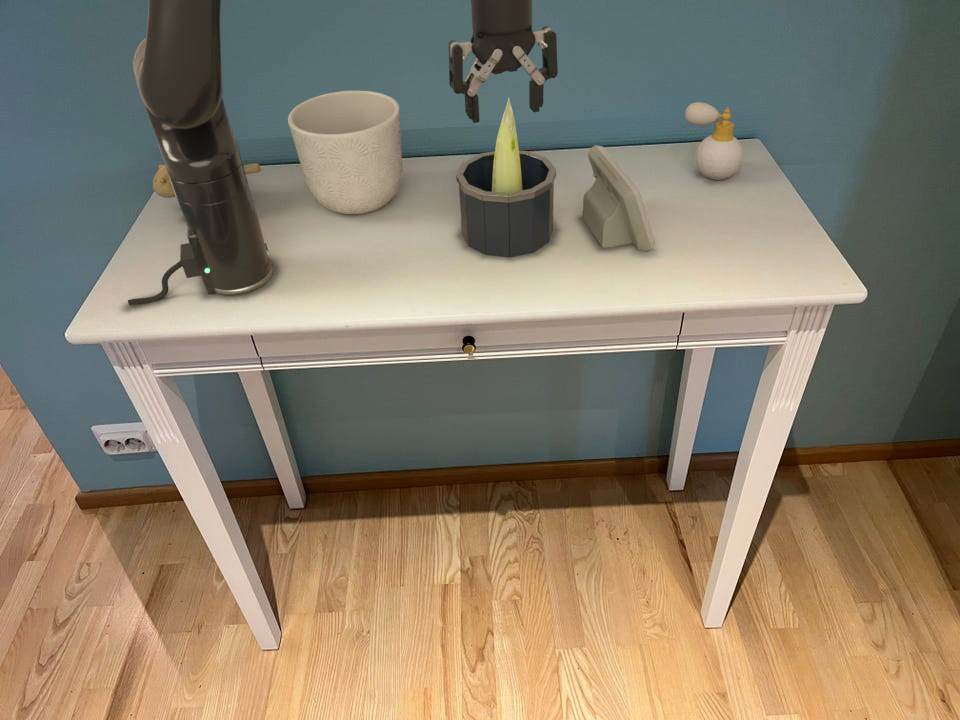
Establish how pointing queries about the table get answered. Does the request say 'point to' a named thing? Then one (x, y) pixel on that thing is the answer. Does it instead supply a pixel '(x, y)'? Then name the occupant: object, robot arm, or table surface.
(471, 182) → the pail
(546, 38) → the robot arm
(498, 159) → the yellow elongated tapered cylinder
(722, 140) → the perfume bottle
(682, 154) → the table surface
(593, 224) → the digital clock
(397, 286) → the table surface
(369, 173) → the planter
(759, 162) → the table surface
